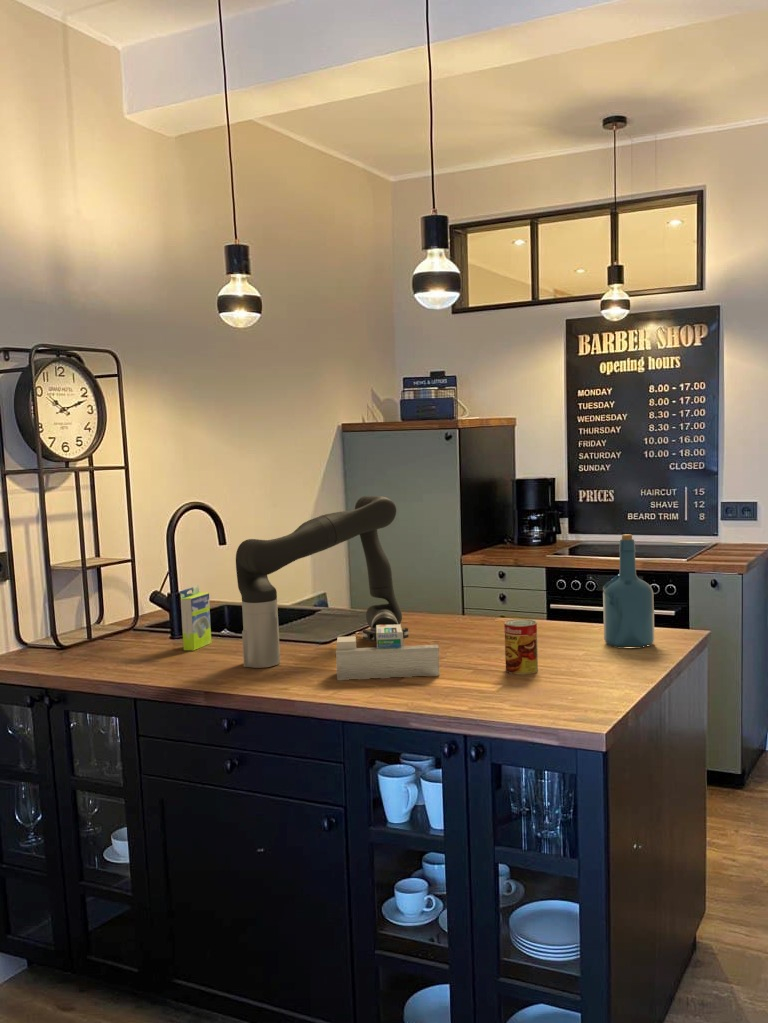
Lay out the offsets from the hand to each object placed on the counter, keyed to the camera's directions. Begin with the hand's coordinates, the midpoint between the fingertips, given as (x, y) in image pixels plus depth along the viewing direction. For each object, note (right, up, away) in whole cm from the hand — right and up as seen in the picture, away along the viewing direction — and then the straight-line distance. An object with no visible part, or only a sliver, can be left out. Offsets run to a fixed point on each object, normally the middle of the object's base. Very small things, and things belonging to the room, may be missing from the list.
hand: (386, 640), depth 235 cm
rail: (0, -7, -11) cm, 13 cm away
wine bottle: (+66, -3, +11) cm, 67 cm away
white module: (-10, -7, -10) cm, 15 cm away
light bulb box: (+1, -7, -6) cm, 9 cm away
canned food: (+33, -6, -12) cm, 36 cm away
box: (-55, -6, +30) cm, 63 cm away
